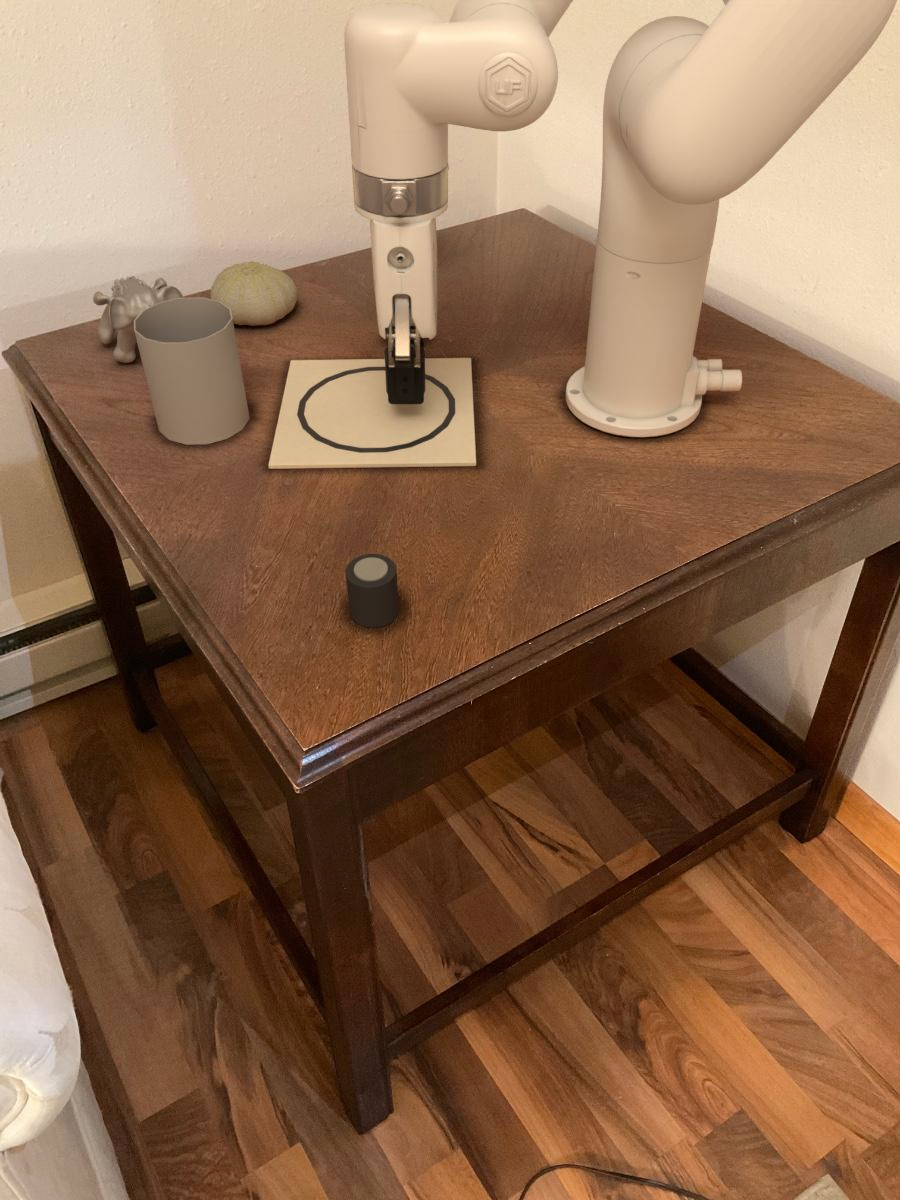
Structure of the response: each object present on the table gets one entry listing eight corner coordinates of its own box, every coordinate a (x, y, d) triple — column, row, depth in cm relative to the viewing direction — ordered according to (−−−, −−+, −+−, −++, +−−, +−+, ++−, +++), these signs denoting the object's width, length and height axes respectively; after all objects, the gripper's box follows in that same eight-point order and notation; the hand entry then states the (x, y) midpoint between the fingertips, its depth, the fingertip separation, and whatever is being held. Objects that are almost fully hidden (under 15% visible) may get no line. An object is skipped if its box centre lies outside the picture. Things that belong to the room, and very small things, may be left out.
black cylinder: (425, 380, 92) (425, 339, 89) (425, 400, 89) (424, 359, 86) (386, 380, 92) (385, 339, 89) (385, 400, 89) (383, 359, 86)
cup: (229, 449, 88) (210, 347, 81) (143, 439, 89) (116, 338, 82) (261, 399, 94) (245, 301, 87) (180, 391, 95) (158, 293, 88)
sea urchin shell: (270, 265, 111) (286, 233, 103) (297, 331, 111) (315, 304, 104) (193, 285, 107) (203, 254, 100) (221, 353, 107) (233, 327, 100)
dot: (399, 593, 74) (397, 551, 71) (398, 627, 71) (395, 585, 68) (351, 594, 74) (346, 552, 71) (348, 628, 71) (343, 585, 68)
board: (470, 361, 99) (471, 356, 98) (476, 466, 86) (476, 461, 85) (291, 363, 99) (290, 359, 98) (268, 469, 86) (268, 464, 85)
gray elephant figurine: (156, 320, 106) (140, 251, 100) (230, 356, 100) (218, 284, 95) (83, 354, 100) (62, 283, 95) (157, 394, 95) (139, 320, 90)
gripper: (449, 229, 72) (448, 440, 85) (447, 150, 84) (446, 345, 97) (346, 229, 72) (360, 441, 85) (359, 150, 84) (370, 345, 97)
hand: (406, 388), depth 90 cm, fingers closed on black cylinder, 3 cm apart
